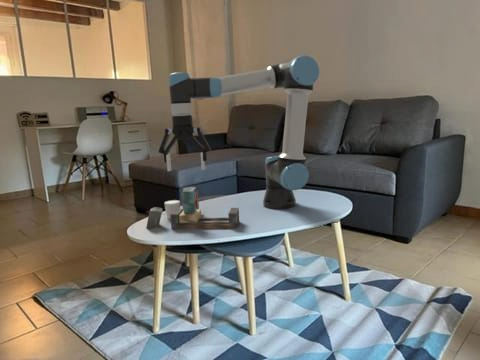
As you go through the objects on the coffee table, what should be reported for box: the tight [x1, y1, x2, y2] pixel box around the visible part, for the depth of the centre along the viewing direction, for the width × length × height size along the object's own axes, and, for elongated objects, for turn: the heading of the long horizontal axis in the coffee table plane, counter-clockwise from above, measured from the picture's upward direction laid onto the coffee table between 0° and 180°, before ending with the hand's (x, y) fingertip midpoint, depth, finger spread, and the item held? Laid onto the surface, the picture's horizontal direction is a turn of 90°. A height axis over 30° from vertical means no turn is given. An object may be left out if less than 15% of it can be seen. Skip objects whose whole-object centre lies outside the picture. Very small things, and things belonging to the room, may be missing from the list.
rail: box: [170, 207, 240, 230], centre depth 145 cm, size 26×8×6 cm, turn 83°
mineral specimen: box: [146, 206, 164, 229], centre depth 147 cm, size 7×9×8 cm
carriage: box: [179, 189, 203, 223], centre depth 144 cm, size 7×8×12 cm
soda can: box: [181, 186, 200, 211], centre depth 161 cm, size 7×7×12 cm
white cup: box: [164, 199, 181, 220], centre depth 158 cm, size 7×7×7 cm
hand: (186, 170), depth 142 cm, fingers open, 13 cm apart
